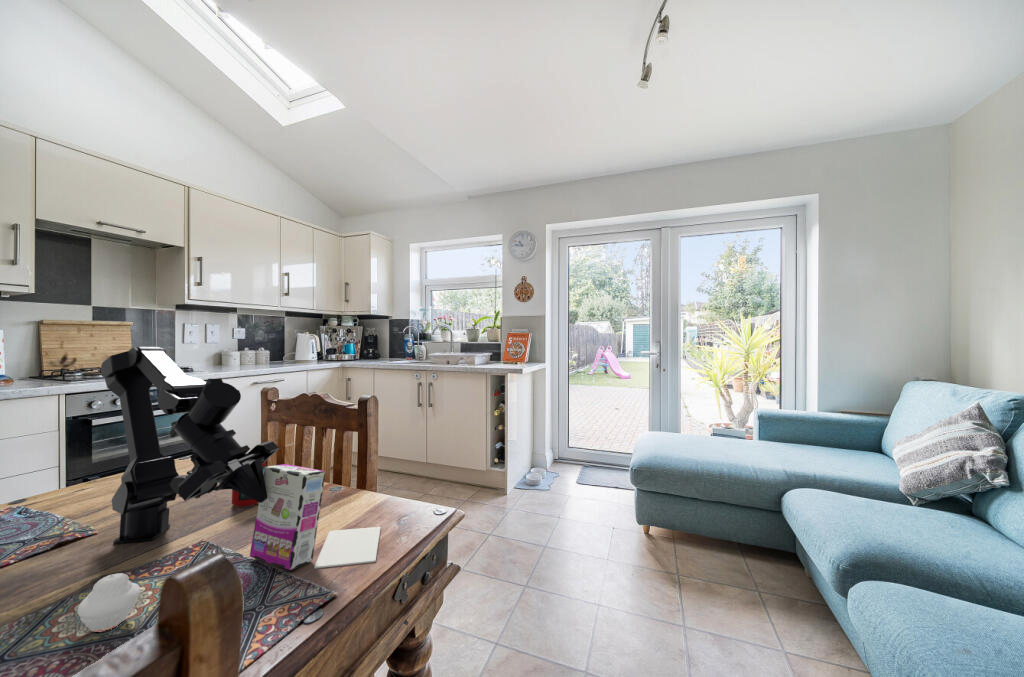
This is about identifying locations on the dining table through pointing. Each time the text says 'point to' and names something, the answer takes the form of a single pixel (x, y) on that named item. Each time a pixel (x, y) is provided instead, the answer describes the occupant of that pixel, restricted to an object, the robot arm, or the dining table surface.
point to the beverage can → (243, 500)
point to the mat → (349, 547)
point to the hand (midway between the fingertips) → (264, 500)
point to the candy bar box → (288, 516)
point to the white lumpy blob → (108, 602)
